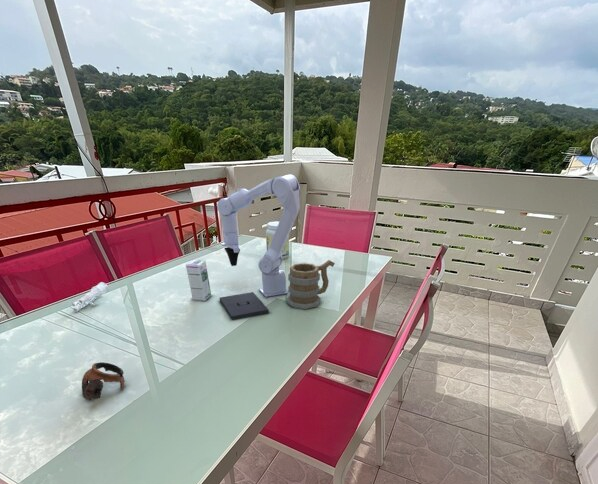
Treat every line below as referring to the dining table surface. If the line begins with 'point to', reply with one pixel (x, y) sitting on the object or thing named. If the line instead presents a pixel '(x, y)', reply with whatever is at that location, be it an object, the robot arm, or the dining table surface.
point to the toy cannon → (91, 296)
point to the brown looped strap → (95, 376)
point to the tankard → (307, 284)
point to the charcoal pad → (246, 309)
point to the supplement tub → (269, 236)
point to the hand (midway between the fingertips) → (233, 265)
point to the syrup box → (198, 280)
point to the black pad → (238, 299)
